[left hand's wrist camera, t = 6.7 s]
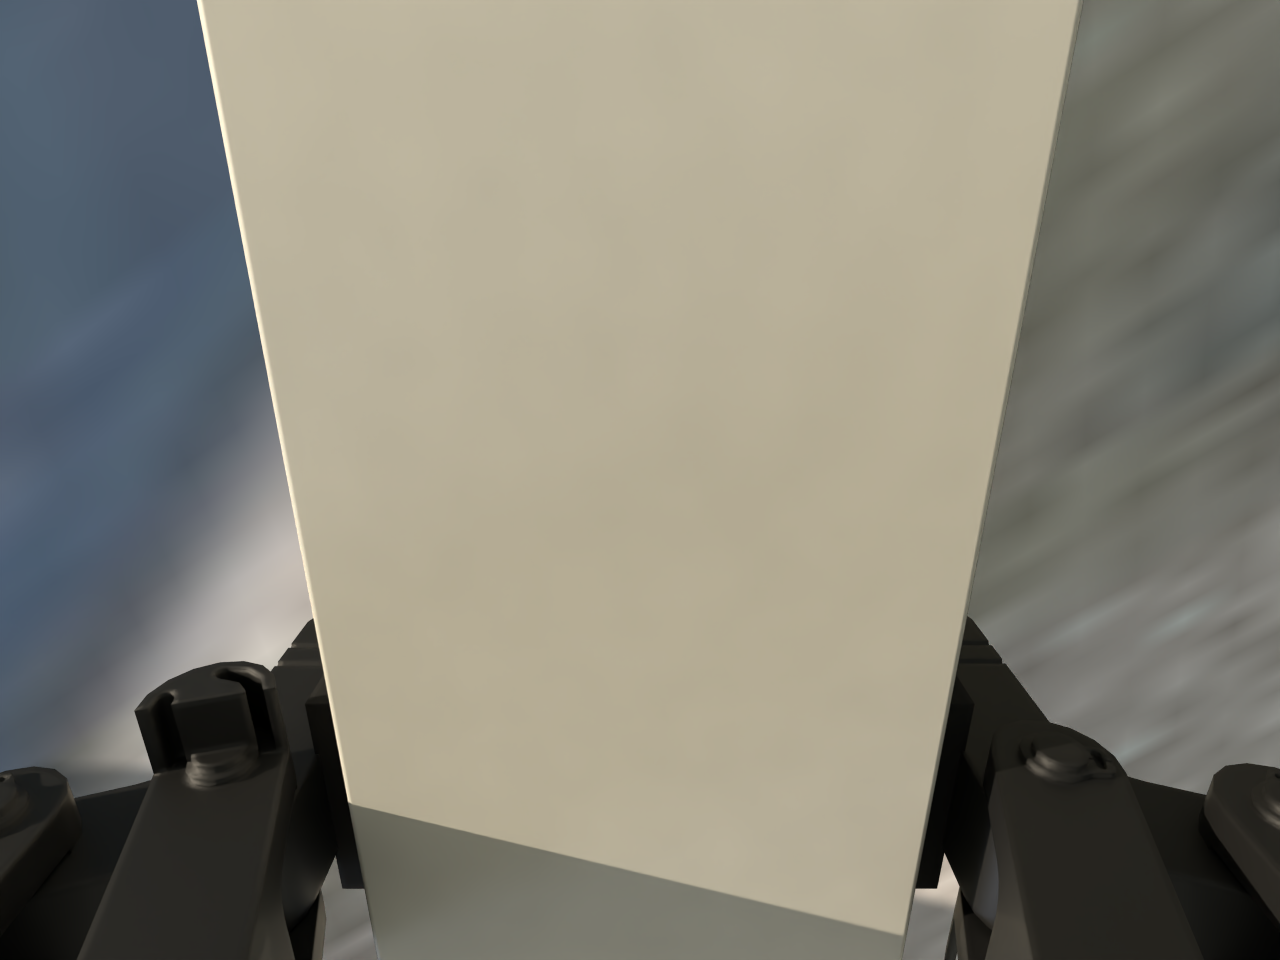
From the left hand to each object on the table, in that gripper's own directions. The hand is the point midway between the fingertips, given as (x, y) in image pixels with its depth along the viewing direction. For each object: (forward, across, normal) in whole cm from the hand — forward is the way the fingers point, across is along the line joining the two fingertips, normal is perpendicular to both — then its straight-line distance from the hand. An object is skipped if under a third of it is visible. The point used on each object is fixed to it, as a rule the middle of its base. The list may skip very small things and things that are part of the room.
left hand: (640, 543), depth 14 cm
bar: (+1, 0, -23) cm, 23 cm away
